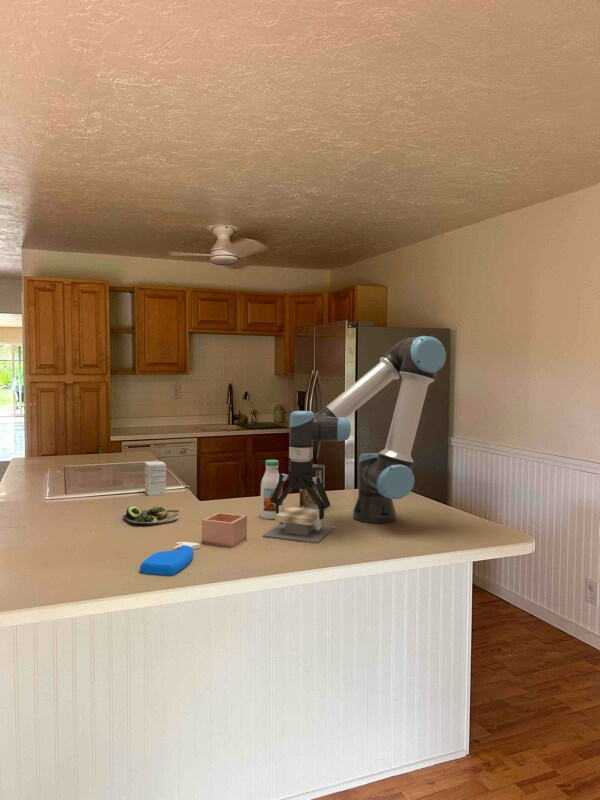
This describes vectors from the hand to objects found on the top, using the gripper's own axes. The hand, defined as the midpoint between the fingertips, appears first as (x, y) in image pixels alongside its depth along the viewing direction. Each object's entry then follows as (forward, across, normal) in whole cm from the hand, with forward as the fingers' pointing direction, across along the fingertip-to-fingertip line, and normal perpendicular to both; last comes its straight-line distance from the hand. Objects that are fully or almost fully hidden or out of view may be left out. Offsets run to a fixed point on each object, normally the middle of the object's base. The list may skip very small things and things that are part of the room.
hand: (299, 527), depth 192 cm
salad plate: (+2, -53, -5) cm, 53 cm away
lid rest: (+2, 0, 0) cm, 2 cm away
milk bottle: (+2, -16, +15) cm, 22 cm away
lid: (-3, 0, 0) cm, 3 cm away
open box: (+2, -18, -17) cm, 25 cm away
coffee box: (+2, -7, +33) cm, 34 cm away
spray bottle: (+3, -22, -38) cm, 44 cm away
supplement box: (+2, -74, +31) cm, 80 cm away
